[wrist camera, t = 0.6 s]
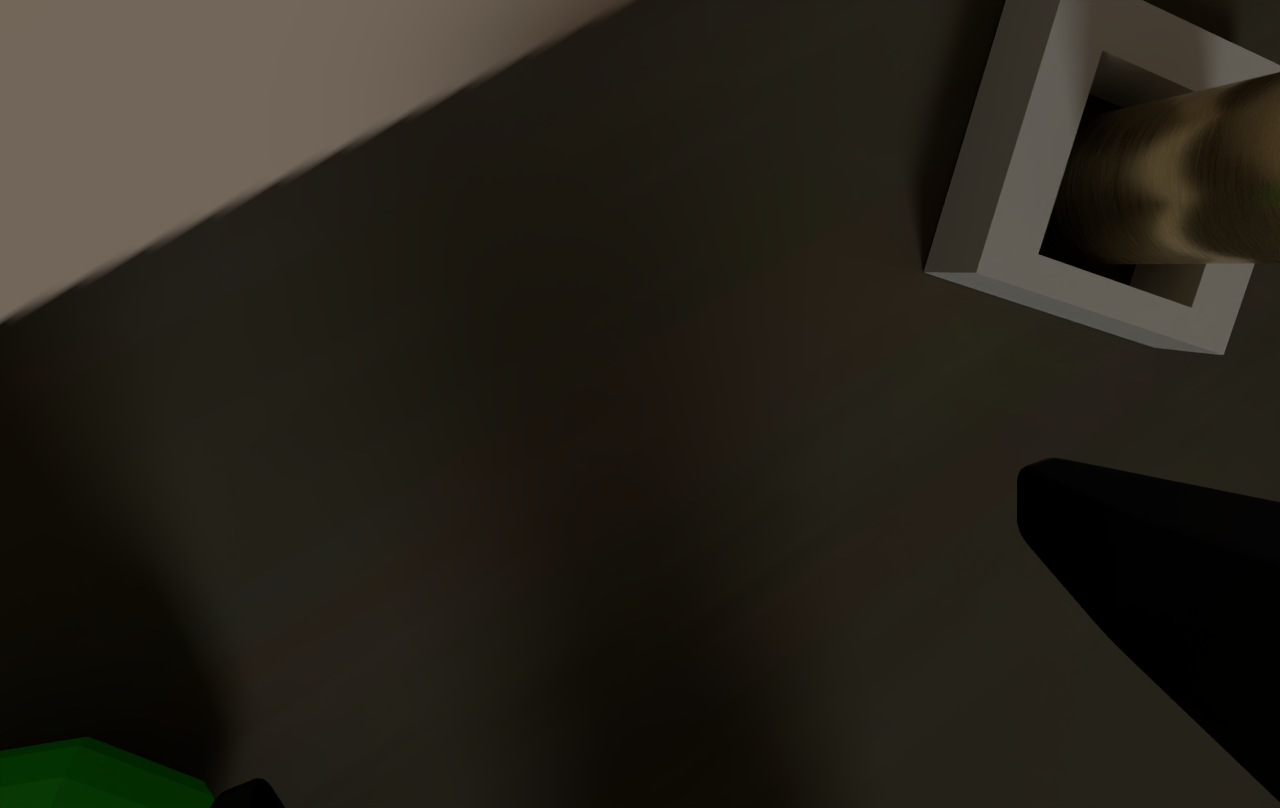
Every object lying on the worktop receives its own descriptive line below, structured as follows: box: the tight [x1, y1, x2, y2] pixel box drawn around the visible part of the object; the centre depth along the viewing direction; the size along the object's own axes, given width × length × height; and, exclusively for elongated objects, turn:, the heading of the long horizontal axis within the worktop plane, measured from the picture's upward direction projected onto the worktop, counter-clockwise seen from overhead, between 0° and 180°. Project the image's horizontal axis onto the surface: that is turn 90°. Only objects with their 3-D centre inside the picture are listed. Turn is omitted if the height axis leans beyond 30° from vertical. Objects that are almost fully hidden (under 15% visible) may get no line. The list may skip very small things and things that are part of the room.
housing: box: [924, 0, 1280, 355], centre depth 24 cm, size 8×9×2 cm
